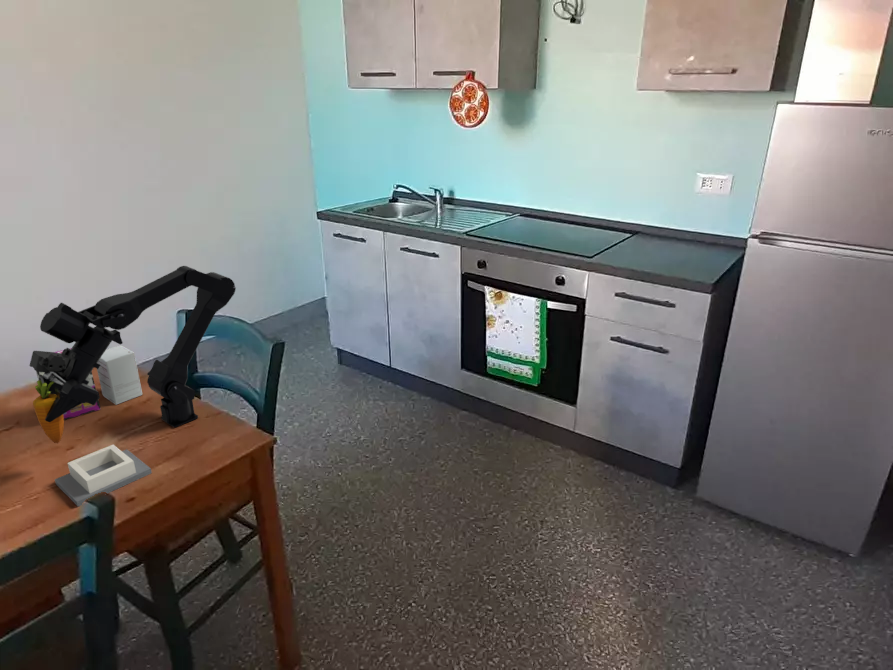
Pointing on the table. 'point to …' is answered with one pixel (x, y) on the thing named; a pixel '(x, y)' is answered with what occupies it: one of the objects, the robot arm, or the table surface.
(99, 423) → the table surface
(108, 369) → the supplement box
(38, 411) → the carrot
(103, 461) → the socket
